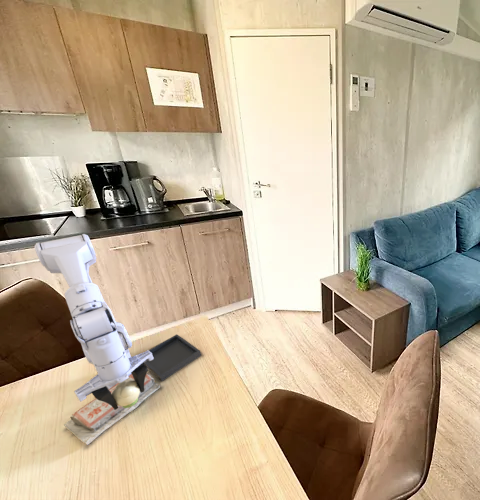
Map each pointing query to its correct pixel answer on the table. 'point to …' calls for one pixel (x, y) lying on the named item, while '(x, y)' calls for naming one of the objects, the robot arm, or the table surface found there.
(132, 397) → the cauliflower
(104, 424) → the packaged product
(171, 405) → the table surface
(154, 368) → the tray
